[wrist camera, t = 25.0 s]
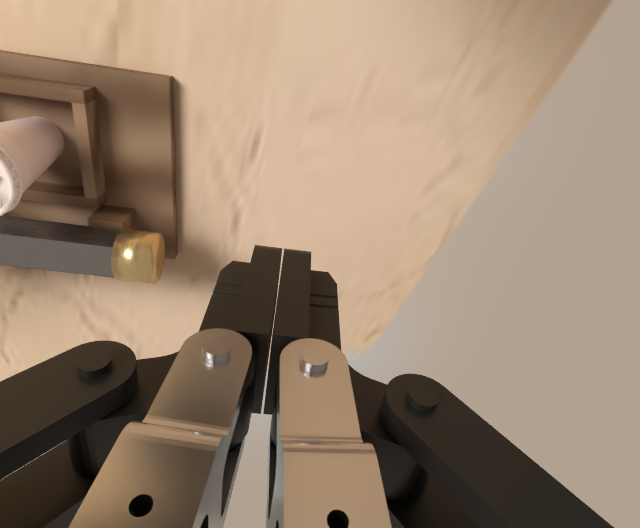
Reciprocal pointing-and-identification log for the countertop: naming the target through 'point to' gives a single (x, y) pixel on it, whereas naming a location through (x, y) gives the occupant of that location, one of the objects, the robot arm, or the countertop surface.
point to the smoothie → (25, 155)
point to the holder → (97, 144)
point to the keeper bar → (81, 249)
